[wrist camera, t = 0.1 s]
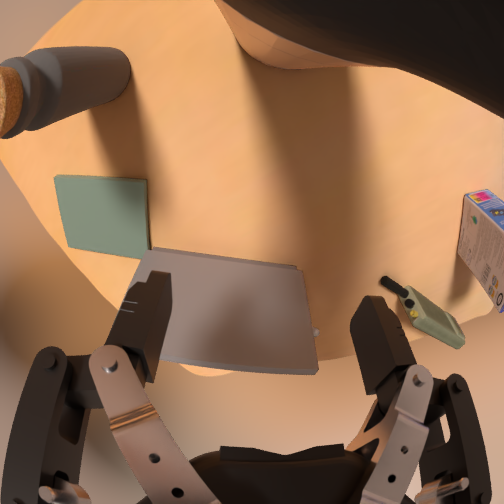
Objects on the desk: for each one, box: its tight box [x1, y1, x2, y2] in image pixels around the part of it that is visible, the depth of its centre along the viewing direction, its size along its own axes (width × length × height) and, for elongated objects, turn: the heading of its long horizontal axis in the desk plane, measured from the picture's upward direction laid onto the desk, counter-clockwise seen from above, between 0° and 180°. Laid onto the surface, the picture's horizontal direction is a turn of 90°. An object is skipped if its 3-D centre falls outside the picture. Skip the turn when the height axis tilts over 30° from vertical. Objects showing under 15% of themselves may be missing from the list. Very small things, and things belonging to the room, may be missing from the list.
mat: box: [54, 175, 150, 259], centre depth 28 cm, size 10×12×1 cm
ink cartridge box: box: [457, 189, 504, 313], centre depth 22 cm, size 10×6×14 cm, turn 19°
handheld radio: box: [381, 276, 465, 349], centre depth 35 cm, size 7×3×25 cm
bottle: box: [0, 46, 130, 139], centre depth 13 cm, size 6×6×15 cm
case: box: [112, 247, 320, 375], centre depth 30 cm, size 18×18×14 cm
